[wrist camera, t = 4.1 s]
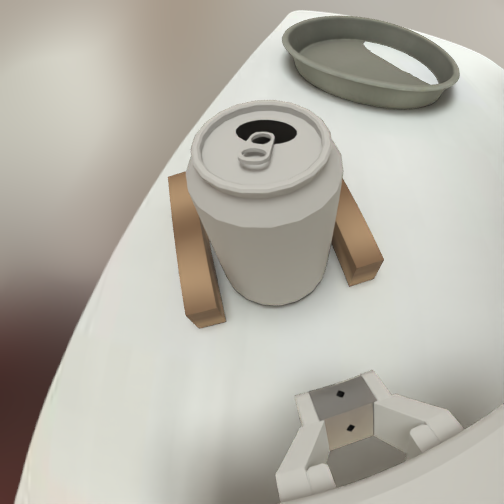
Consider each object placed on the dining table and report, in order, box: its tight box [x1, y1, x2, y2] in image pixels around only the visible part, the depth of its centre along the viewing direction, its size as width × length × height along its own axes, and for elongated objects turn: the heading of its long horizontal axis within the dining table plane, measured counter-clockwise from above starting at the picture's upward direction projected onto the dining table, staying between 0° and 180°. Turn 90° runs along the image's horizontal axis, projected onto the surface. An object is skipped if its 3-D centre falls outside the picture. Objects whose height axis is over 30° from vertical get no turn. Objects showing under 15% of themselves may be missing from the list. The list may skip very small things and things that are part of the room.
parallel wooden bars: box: [168, 172, 384, 328], centre depth 23 cm, size 12×13×3 cm
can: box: [186, 100, 343, 305], centre depth 18 cm, size 8×8×12 cm
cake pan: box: [282, 16, 460, 109], centre depth 34 cm, size 25×25×4 cm
